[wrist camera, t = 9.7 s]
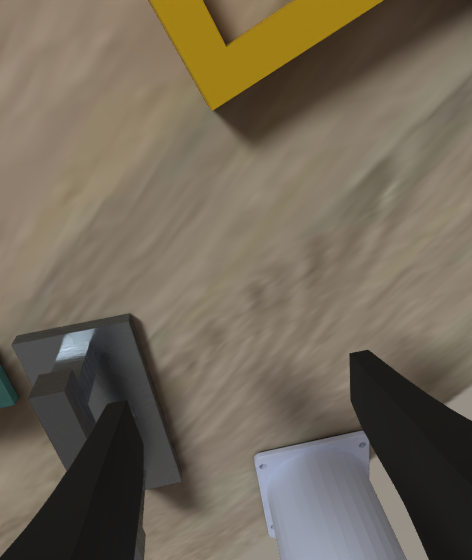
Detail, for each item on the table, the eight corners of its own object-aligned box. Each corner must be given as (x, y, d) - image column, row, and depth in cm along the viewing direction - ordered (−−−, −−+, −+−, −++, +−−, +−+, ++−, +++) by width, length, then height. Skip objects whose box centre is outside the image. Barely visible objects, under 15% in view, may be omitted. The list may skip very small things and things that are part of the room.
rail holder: (181, 471, 28) (183, 552, 23) (94, 490, 28) (77, 576, 23) (129, 313, 22) (117, 380, 17) (16, 335, 22) (-27, 410, 17)
